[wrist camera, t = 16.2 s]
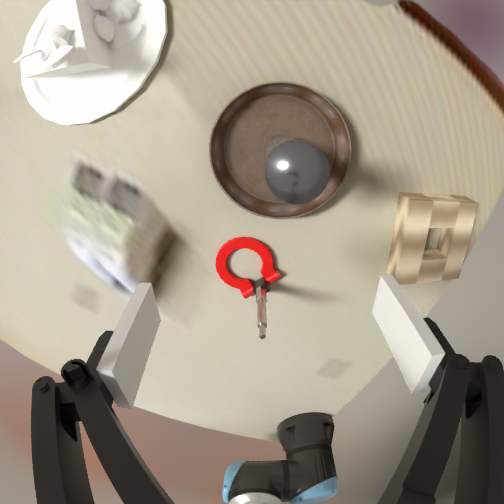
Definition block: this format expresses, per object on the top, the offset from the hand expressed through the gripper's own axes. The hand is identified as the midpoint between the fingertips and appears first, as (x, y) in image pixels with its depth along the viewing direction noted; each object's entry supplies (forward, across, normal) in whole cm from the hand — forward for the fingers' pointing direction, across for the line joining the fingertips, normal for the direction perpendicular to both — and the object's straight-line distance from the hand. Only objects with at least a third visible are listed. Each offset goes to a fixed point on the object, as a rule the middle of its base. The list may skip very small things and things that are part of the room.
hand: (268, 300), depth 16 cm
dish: (+26, +23, -24) cm, 42 cm away
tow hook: (+26, +2, +12) cm, 29 cm away
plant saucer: (+26, -3, -5) cm, 27 cm away
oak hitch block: (+25, -28, +8) cm, 39 cm away
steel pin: (+23, -3, -5) cm, 23 cm away
